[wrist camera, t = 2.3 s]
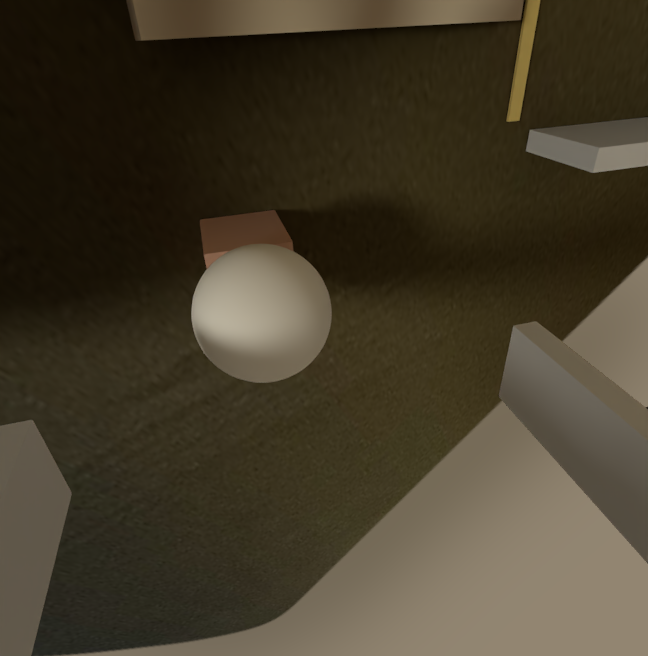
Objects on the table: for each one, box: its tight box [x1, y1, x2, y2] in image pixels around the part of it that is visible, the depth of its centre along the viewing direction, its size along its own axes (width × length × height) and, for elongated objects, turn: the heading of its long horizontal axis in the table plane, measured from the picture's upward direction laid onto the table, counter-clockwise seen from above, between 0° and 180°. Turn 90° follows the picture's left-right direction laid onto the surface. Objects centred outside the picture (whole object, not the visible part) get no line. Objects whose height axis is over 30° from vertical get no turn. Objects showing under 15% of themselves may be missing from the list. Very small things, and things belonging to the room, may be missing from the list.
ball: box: [191, 244, 332, 383], centre depth 17 cm, size 5×5×5 cm
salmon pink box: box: [200, 210, 293, 269], centre depth 20 cm, size 3×3×4 cm
